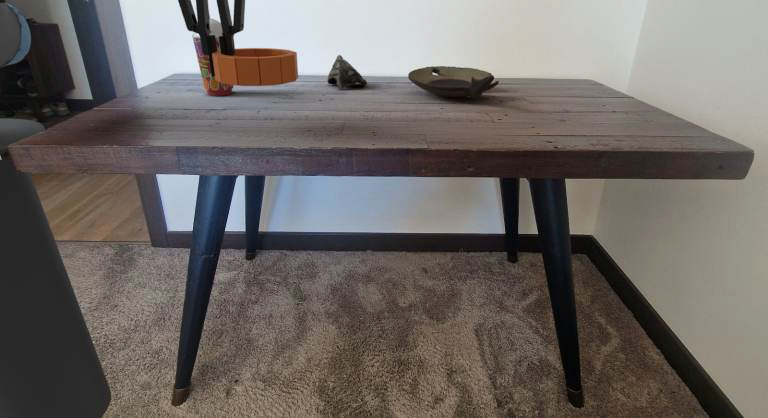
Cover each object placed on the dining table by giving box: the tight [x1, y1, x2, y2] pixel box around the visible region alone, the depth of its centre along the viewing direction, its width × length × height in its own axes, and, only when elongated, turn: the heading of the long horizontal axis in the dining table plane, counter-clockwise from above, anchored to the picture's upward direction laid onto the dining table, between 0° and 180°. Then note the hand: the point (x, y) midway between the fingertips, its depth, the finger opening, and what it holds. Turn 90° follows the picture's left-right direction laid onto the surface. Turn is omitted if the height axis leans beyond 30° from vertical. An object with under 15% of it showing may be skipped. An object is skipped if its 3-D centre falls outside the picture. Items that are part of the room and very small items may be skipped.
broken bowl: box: [407, 65, 500, 99], centre depth 108 cm, size 22×30×8 cm
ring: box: [212, 47, 299, 87], centre depth 77 cm, size 14×14×4 cm
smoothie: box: [191, 14, 234, 97], centre depth 105 cm, size 8×8×20 cm
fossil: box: [326, 54, 368, 90], centre depth 118 cm, size 11×9×10 cm
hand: (222, 75), depth 77 cm, fingers closed on ring, 1 cm apart
